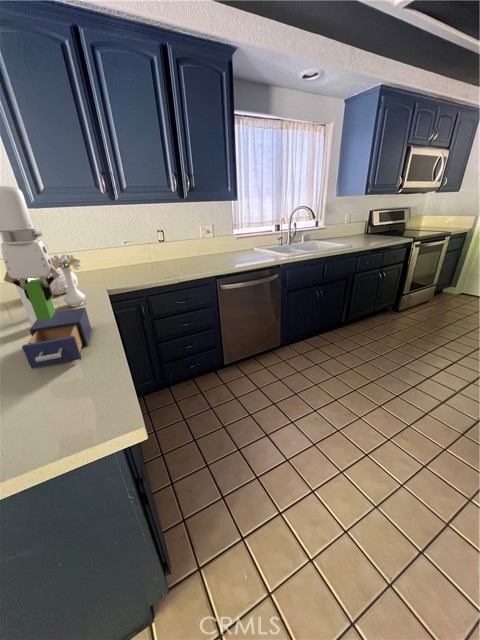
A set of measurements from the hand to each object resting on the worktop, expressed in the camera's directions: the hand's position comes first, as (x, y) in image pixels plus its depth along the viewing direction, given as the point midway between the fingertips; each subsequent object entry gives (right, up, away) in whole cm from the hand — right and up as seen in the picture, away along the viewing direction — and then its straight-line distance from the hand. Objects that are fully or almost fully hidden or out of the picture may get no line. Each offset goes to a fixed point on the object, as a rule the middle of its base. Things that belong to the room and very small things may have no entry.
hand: (40, 299), depth 80 cm
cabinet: (-4, -14, +18) cm, 23 cm away
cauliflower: (-44, +10, +74) cm, 86 cm away
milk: (-22, -9, +31) cm, 39 cm away
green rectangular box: (0, -5, +2) cm, 6 cm away
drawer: (+1, -18, +6) cm, 19 cm away
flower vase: (-23, +2, +55) cm, 59 cm away
